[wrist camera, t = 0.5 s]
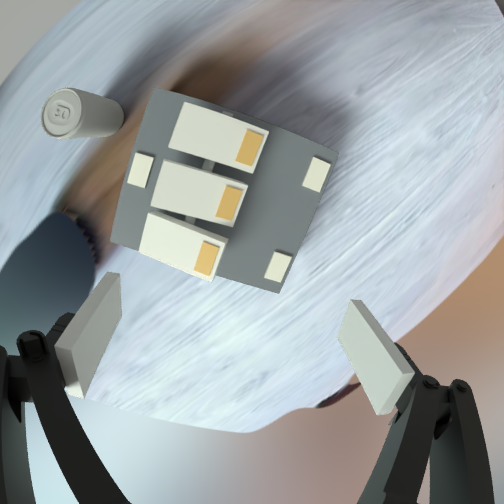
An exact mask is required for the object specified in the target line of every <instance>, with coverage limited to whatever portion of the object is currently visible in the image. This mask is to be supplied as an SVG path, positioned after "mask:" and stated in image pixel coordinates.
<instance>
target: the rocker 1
mask: <svg viewBox="0 0 504 504" xmlns="http://www.w3.org/2000/svg"><path fill="white" fill-rule="evenodd" d="M268 133H269V131H266V130H264V129H261V128H259V127H256V126H254V125H251V124H248V123H246V122H243V121H240V120H238V119H235V118H232V117H229V116H227V115H224V114H221V113H218V112H215V111H212V110H209V109H206V108H203V107H200V106H197V105H194V104H191V103H187V102H184V103H183V106H182V109H181V111H180V114H179V117H178V119H177V122H176V125H175V128H174V130H173V133H172V136H171V139H170V142H169V145H168V148H172V149H175V150H179V151H182V152H186V153H189V154H193V155H196V156H199V157H202V158H206V159H209V160H212V161H215V162H219V163H222V164H225V165H228V166H231V167H234V168H237V169H240V170H243V171H246V172H249V173H252V174H253V172H254V169H255V167H256V164H257V161H258V159H259V156H260V154H261V151H262V149H263V146H264V143H265V141H266V138H267V136H268Z"/></svg>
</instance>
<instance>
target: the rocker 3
mask: <svg viewBox="0 0 504 504" xmlns="http://www.w3.org/2000/svg"><path fill="white" fill-rule="evenodd" d="M227 242H228V238H225V237H222V236H220V235H217V234H215V233H212V232H210V231H207V230H205V229H202V228H199V227H197V226H194V225H192V224H189V223H187V222H184V221H181V220H179V219H176V218H174V217H171V216H169V215H166V214H163V213H161V212H158V211H156V210H154V211H152V212H149V213H148V215H147V219H146V223H145V227H144V231H143V235H142V239H141V243H140V247H139V251H138V252H139V253H141V254H144V255H146V256H148V257H151V258H153V259H155V260H158V261H160V262H162V263H165V264H167V265H170V266H172V267H174V268H177V269H179V270H182V271H184V272H186V273H189V274H191V275H194V276H196V277H199V278H201V279H203V280H206V281H208V282H211V283H212V281H213V279H214V278H215V276H216V273H217V270H218V267H219V264H220V262H221V259H222V256H223V253H224V250H225V248H226V245H227Z"/></svg>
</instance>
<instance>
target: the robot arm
mask: <svg viewBox="0 0 504 504" xmlns="http://www.w3.org/2000/svg"><path fill="white" fill-rule="evenodd" d="M121 317H122V310H121V287H120V274H119V273H112V272H107V273H106V274H105V276H104V277H103V278H102V279H101V281H100V282H99V283H98V285H97V286H96V287H95V289H94V290H93V291H92V293H91V294H90V295H89V297H88V298H87V299H86V301H85V302H84V304H83V305H82V306H81V308H80V309H79V310H78V312H77V313H76V314H73V313H66V314H64V315H62V316H61V317H59V319H58V320H57V322H56V323H55V325H53V327H52V328H51V330H50V331H49V333H48V334H47V335H46V336H45V335H44V334H43V333H42V332H40V331H36V330H30V331H26V332H23V333H22V334H21V335H19V337H18V339H17V347H18V350H19V353H20V356H15V355H8V354H7V351H6V350H5V348H4V347H2V346H0V504H36V502H35V497H34V492H33V487H32V481H31V475H30V468H29V461H28V452H27V442H26V427H25V402H34V404H35V407H36V410H37V413H38V416H39V419H40V422H41V424H42V427H43V430H44V432H45V435H46V437H47V439H48V442H49V444H50V447H51V449H52V451H53V454H54V456H55V458H56V460H57V462H58V464H59V467H60V469H61V471H62V473H63V475H64V477H65V479H66V481H67V483H68V484H69V486H70V488H71V490H72V492H73V494H74V495H75V497H76V499H77V501H78V502H79V504H131V503H130V502H129V501H128V500H127V499H126V497H125V496H124V495H123V493H122V492H121V490H120V489H119V487H118V486H117V485H116V483H115V482H114V480H113V479H112V477H111V476H110V474H109V473H108V471H107V470H106V468H105V466H104V465H103V463H102V462H101V460H100V458H99V456H98V455H97V453H96V452H95V450H94V448H93V446H92V445H91V443H90V441H89V439H88V437H87V435H86V434H85V432H84V430H83V428H82V426H81V424H80V422H79V420H78V418H77V416H76V414H75V412H74V410H73V408H72V406H71V404H70V401H69V399H68V397H67V395H66V392H65V390H64V388H65V386H66V388H67V391H68V394H70V395H73V396H76V397H80V398H85V395H86V393H87V391H88V388H89V386H90V384H91V381H92V379H93V377H94V374H95V372H96V370H97V368H98V365H99V363H100V361H101V359H102V356H103V354H104V352H105V350H106V348H107V346H108V344H109V341H110V339H111V337H112V335H113V333H114V331H115V329H116V327H117V325H118V323H119V321H120V319H121ZM337 338H338V340H339V342H340V344H341V346H342V348H343V350H344V351H345V353H346V355H347V357H348V359H349V361H350V363H351V365H352V367H353V369H354V371H355V373H356V374H357V376H358V378H359V380H360V382H361V384H362V386H363V388H364V390H365V392H366V394H367V396H368V398H369V400H370V402H371V404H372V406H373V408H374V410H375V412H376V414H377V415H382V414H389V413H390V412H391V411H392V409H393V407H394V406H395V405H396V407H397V409H398V411H397V413H396V414H395V416H394V417H393V419H392V420H391V421H390V423H389V424H388V425H391V424H392V425H391V428H390V430H389V433H388V436H387V438H386V441H385V443H384V446H383V448H382V451H381V453H380V456H379V458H378V460H377V463H376V465H375V467H374V469H373V472H372V474H371V476H370V478H369V480H368V482H367V484H366V486H365V489H364V491H363V493H362V495H361V497H360V498H359V500H358V502H357V504H418V503H417V497H418V494H419V491H420V488H421V484H422V480H423V477H424V474H425V470H426V466H427V462H428V458H429V456H430V504H495V503H494V495H493V494H494V493H493V485H492V477H491V471H490V465H489V459H488V453H487V449H486V444H485V439H484V434H483V430H482V426H481V422H480V418H479V414H478V410H477V407H476V403H475V400H474V396H473V393H472V389H471V387H470V386H469V385H468V384H467V382H465V381H463V380H460V379H455V380H453V382H452V383H451V385H450V386H441V385H440V384H439V382H438V381H437V380H436V379H435V378H433V377H431V376H428V375H423V374H422V373H421V372H420V371H419V369H418V368H417V366H416V365H415V363H414V362H413V361H412V360H411V358H410V357H409V356H408V355H407V353H406V351H405V350H404V349H403V348H402V347H401V346H400V345H399V344H397V343H393V341H392V340H391V339H390V337H389V336H388V335H387V333H386V332H385V331H384V329H383V328H382V327H381V325H380V324H379V323H378V321H377V320H376V319H375V317H374V316H373V315H372V313H371V312H370V311H369V310H368V308H367V307H366V306H365V304H364V303H363V302H362V301H361V300H351V299H350V302H349V305H348V308H347V311H346V314H345V316H344V319H343V322H342V325H341V327H340V330H339V333H338V335H337Z"/></svg>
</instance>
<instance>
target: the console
mask: <svg viewBox="0 0 504 504" xmlns="http://www.w3.org/2000/svg"><path fill="white" fill-rule="evenodd" d="M184 102H187V103H191V104H194V105H197V106H200V107H203V108H206V109H209V110H212V111H215V112H218V113H221V114H224V115H227V116H229V117H232V118H235V119H238V120H240V121H243V122H246V123H248V124H251V125H254V126H256V127H259V128H261V129H264V130H266V131H269V133H268V136H267V138H266V141H265V143H264V146H263V149H262V151H261V154H260V156H259V159H258V161H257V164H256V167H255V169H254V172H253V174H252V173H249V172H246V171H243V170H240V169H237V168H234V167H231V166H228V165H225V164H222V163H219V162H215V161H212V160H209V159H206V158H202V157H199V156H196V155H193V154H189V153H186V152H182V151H179V150H175V149H172V148H168V145H169V142H170V139H171V136H172V133H173V130H174V128H175V125H176V122H177V119H178V117H179V114H180V111H181V109H182V106H183V103H184ZM338 155H339V153H337V152H335V151H333V150H331V149H329V148H327V147H325V146H322V145H320V144H318V143H316V142H313V141H311V140H309V139H307V138H304V137H302V136H300V135H297V134H295V133H292V132H290V131H287V130H285V129H283V128H280V127H277V126H275V125H272V124H270V123H267V122H265V121H262V120H259V119H257V118H254V117H251V116H248V115H246V114H243V113H240V112H237V111H234V110H231V109H228V108H225V107H222V106H219V105H216V104H213V103H210V102H206V101H203V100H200V99H196V98H193V97H190V96H186V95H183V94H179V93H175V92H171V91H168V90H164V89H160V88H156V87H154V89H153V92H152V94H151V97H150V99H149V102H148V105H147V108H146V110H145V113H144V116H143V119H142V122H141V125H140V128H139V131H138V134H137V137H136V140H135V143H134V146H133V150H132V153H131V156H130V160H129V163H128V167H127V170H126V174H125V178H124V182H123V185H122V189H121V193H120V197H119V201H118V206H117V210H116V214H115V219H114V224H113V228H112V233H111V238H110V242H113V243H116V244H119V245H122V246H125V247H128V248H131V249H134V250H137V251H139V247H140V243H141V239H142V235H143V231H144V227H145V223H146V219H147V215H148V213H149V212H152V211H154V210H156V211H158V212H161V213H163V214H166V215H169V216H171V217H174V218H176V219H179V220H181V221H184V222H187V223H189V224H192V225H194V226H197V227H199V228H202V229H205V230H207V231H210V232H212V233H215V234H217V235H220V236H222V237H225V238H228V242H227V245H226V248H225V250H224V253H223V256H222V259H221V262H220V264H219V267H218V270H217V273H216V275H217V276H220V277H223V278H227V279H230V280H234V281H237V282H240V283H244V284H247V285H251V286H254V287H257V288H261V289H264V290H268V291H271V292H275V293H278V294H279V293H280V291H281V288H282V286H283V284H284V282H285V280H286V277H287V275H288V273H289V271H290V268H291V266H292V264H293V262H294V260H295V257H296V255H297V253H298V250H299V248H300V246H301V244H302V241H303V239H304V237H305V234H306V232H307V230H308V227H309V225H310V223H311V220H312V218H313V216H314V213H315V211H316V209H317V206H318V204H319V202H320V199H321V197H322V194H323V192H324V190H325V187H326V185H327V182H328V180H329V177H330V175H331V172H332V170H333V167H334V165H335V162H336V160H337V157H338ZM164 159H168V160H171V161H175V162H178V163H182V164H185V165H189V166H192V167H196V168H199V169H202V170H206V171H209V172H212V173H216V174H219V175H222V176H225V177H229V178H232V179H235V180H238V181H241V182H244V183H245V184H246V185H248V188H247V190H246V193H245V196H244V198H243V201H242V204H241V206H240V209H239V212H238V214H237V217H236V220H235V223H234V225H233V227H230V226H226V225H222V224H219V223H215V222H211V221H207V220H203V219H200V218H196V217H192V216H188V215H184V214H180V213H176V212H172V211H168V210H165V209H161V208H157V207H153V206H151V200H152V196H153V193H154V190H155V186H156V183H157V179H158V176H159V173H160V170H161V166H162V163H163V160H164Z"/></svg>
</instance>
